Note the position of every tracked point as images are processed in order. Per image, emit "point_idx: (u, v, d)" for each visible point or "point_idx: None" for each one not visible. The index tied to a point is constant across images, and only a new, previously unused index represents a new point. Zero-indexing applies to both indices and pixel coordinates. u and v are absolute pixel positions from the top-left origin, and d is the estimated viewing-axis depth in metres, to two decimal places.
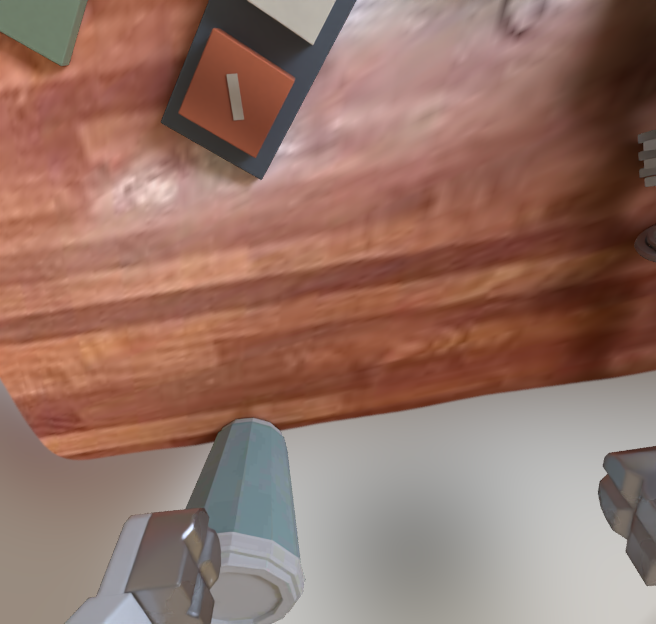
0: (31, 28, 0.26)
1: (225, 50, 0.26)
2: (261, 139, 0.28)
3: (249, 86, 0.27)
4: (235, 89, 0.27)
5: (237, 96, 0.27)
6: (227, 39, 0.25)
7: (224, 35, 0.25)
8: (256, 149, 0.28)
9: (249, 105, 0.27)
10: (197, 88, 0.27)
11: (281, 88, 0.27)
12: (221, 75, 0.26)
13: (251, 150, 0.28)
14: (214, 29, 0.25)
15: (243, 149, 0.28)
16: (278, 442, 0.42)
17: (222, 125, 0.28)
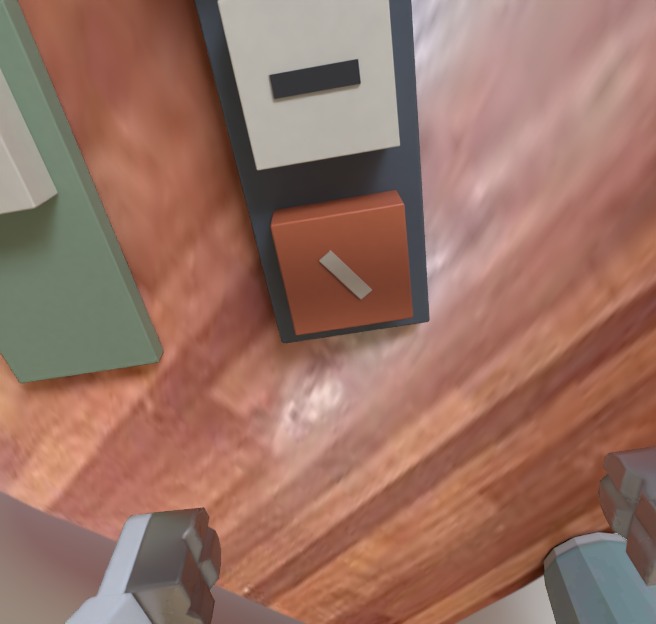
0: (111, 351, 0.22)
1: (300, 237, 0.18)
2: (406, 294, 0.19)
3: (353, 252, 0.18)
4: (340, 268, 0.18)
5: (347, 272, 0.18)
6: (293, 224, 0.17)
7: (287, 222, 0.17)
8: (407, 308, 0.19)
9: (368, 271, 0.18)
10: (298, 297, 0.19)
11: (393, 224, 0.17)
12: (314, 265, 0.18)
13: (403, 313, 0.19)
14: (272, 226, 0.17)
15: (392, 319, 0.20)
16: None
17: (351, 312, 0.19)
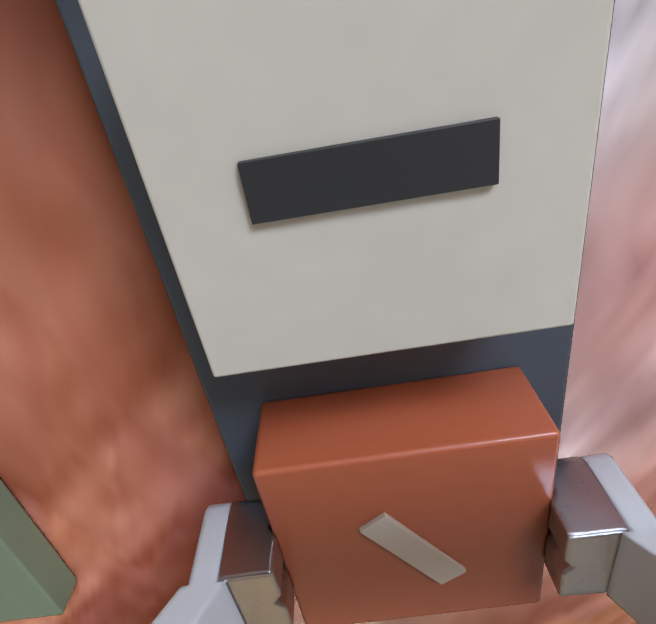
0: None
1: (319, 494, 0.08)
2: (535, 573, 0.09)
3: (435, 515, 0.08)
4: (405, 542, 0.08)
5: (419, 548, 0.09)
6: (305, 473, 0.08)
7: (292, 468, 0.08)
8: (532, 591, 0.10)
9: (461, 541, 0.09)
10: (313, 581, 0.09)
11: (530, 469, 0.08)
12: (348, 535, 0.09)
13: (522, 599, 0.10)
14: (258, 476, 0.08)
15: (500, 604, 0.10)
16: None
17: (419, 599, 0.10)
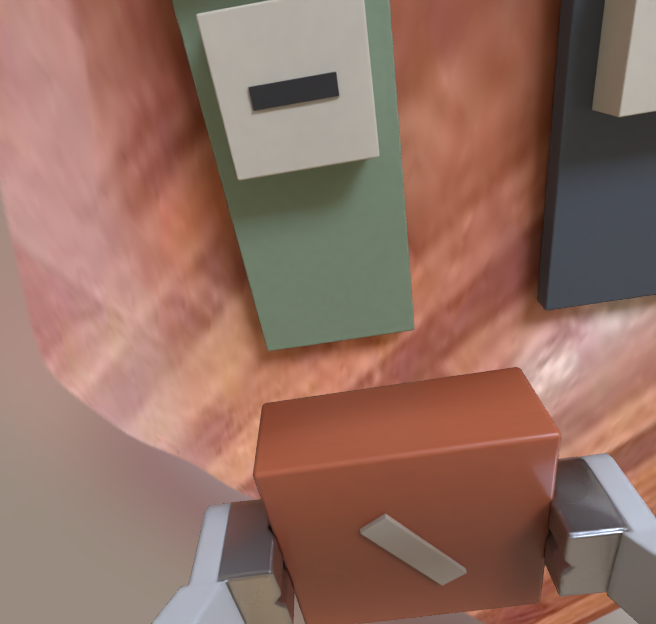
0: (371, 317, 0.22)
1: (320, 494, 0.08)
2: (536, 573, 0.09)
3: (435, 516, 0.08)
4: (405, 543, 0.08)
5: (420, 549, 0.09)
6: (305, 475, 0.08)
7: (292, 469, 0.08)
8: (533, 591, 0.10)
9: (462, 542, 0.09)
10: (313, 582, 0.09)
11: (531, 470, 0.08)
12: (349, 536, 0.09)
13: (523, 600, 0.10)
14: (258, 478, 0.08)
15: (500, 605, 0.10)
16: None
17: (420, 600, 0.10)
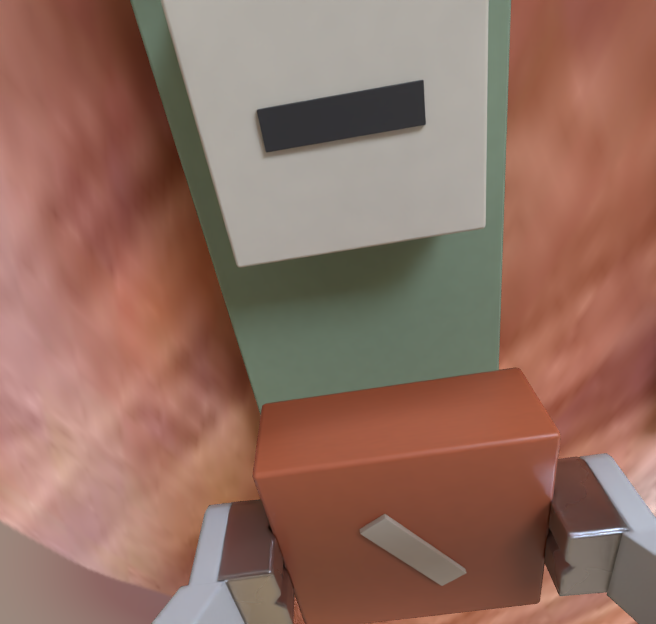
0: None
1: (319, 495, 0.08)
2: (535, 574, 0.09)
3: (435, 516, 0.08)
4: (405, 544, 0.08)
5: (419, 549, 0.09)
6: (305, 475, 0.08)
7: (292, 470, 0.08)
8: (532, 591, 0.10)
9: (461, 543, 0.09)
10: (313, 582, 0.09)
11: (531, 471, 0.08)
12: (349, 537, 0.09)
13: (522, 600, 0.10)
14: (258, 478, 0.08)
15: (500, 606, 0.10)
16: None
17: (420, 600, 0.10)
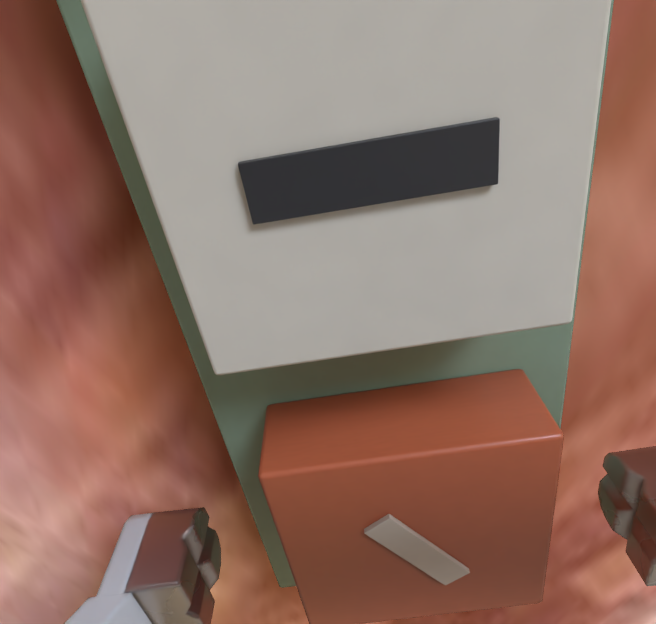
0: None
1: (325, 495, 0.08)
2: (538, 573, 0.09)
3: (439, 516, 0.08)
4: (409, 543, 0.09)
5: (423, 549, 0.09)
6: (310, 475, 0.08)
7: (297, 470, 0.08)
8: (535, 592, 0.10)
9: (465, 542, 0.09)
10: (317, 582, 0.09)
11: (534, 471, 0.08)
12: (353, 537, 0.09)
13: (525, 600, 0.10)
14: (263, 478, 0.08)
15: (503, 605, 0.10)
16: None
17: (423, 599, 0.10)
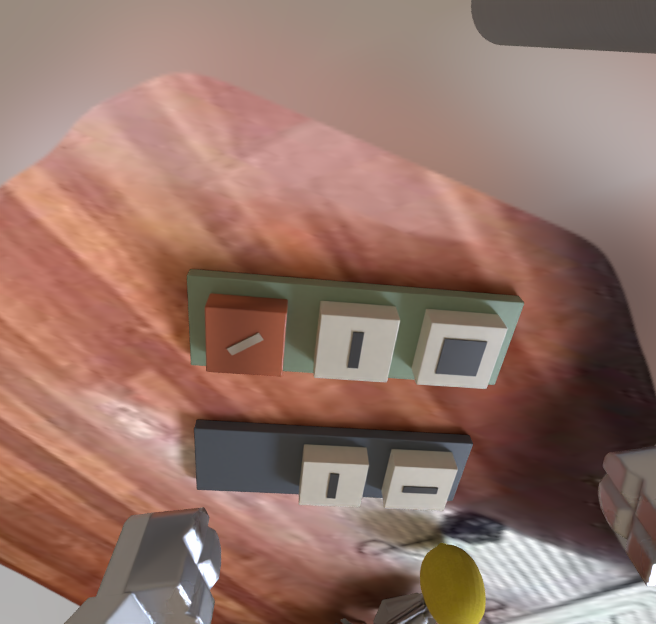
0: (205, 343, 0.32)
1: (275, 326, 0.29)
2: (224, 371, 0.31)
3: (258, 350, 0.30)
4: (251, 343, 0.30)
5: (247, 345, 0.30)
6: (283, 324, 0.29)
7: (285, 321, 0.29)
8: (214, 370, 0.31)
9: (245, 354, 0.30)
10: (234, 315, 0.29)
11: (271, 370, 0.31)
12: (255, 329, 0.29)
13: (211, 368, 0.31)
14: (285, 314, 0.29)
15: (207, 361, 0.31)
16: None
17: (217, 341, 0.30)
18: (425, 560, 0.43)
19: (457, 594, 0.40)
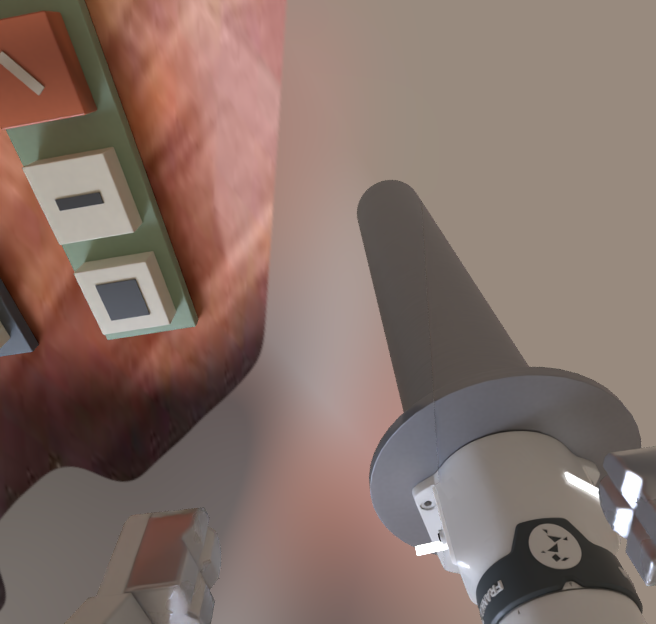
0: None
1: (63, 105, 0.26)
2: None
3: (22, 93, 0.26)
4: (26, 81, 0.25)
5: (20, 76, 0.25)
6: (69, 115, 0.26)
7: (74, 115, 0.26)
8: None
9: (6, 77, 0.25)
10: (51, 52, 0.25)
11: (2, 114, 0.26)
12: (47, 82, 0.25)
13: None
14: (83, 114, 0.26)
15: None
16: None
17: (4, 35, 0.24)
18: None
19: None
